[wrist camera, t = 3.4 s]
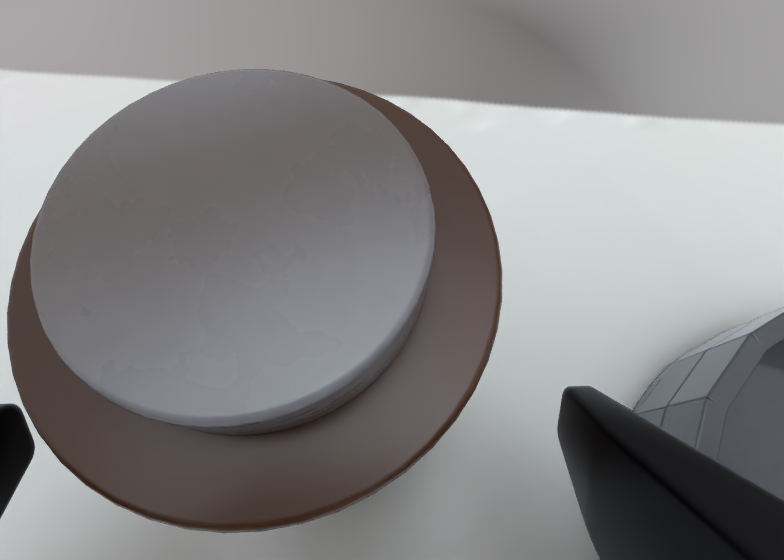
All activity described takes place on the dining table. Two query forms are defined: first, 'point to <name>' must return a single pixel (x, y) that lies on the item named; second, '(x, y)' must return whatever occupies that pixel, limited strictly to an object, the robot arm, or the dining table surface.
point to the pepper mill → (253, 301)
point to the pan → (729, 400)
